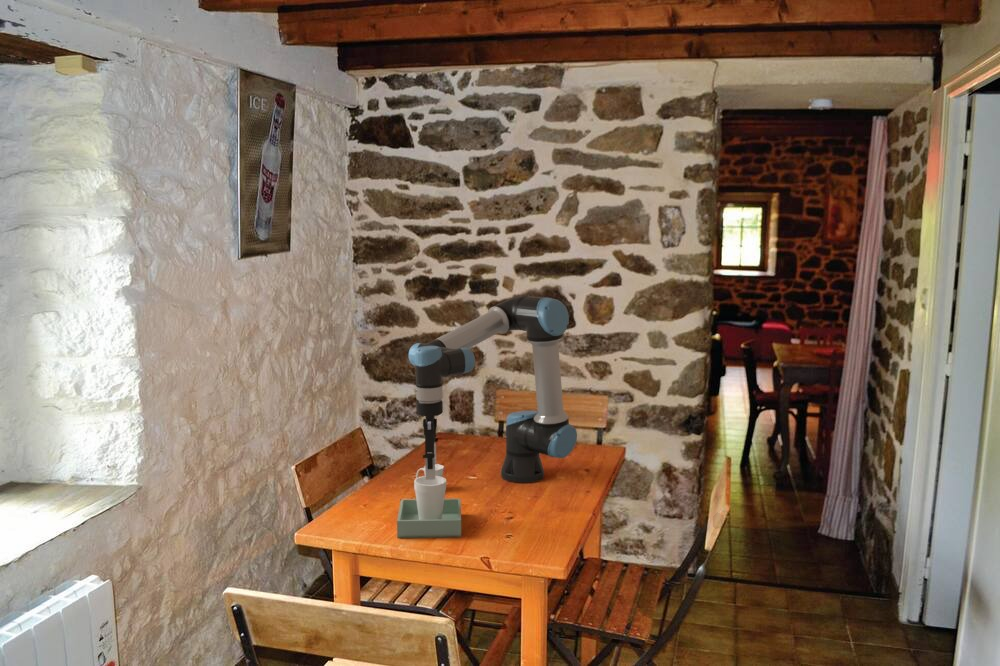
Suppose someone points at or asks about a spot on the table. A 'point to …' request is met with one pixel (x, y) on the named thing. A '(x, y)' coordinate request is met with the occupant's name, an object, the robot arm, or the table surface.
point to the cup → (437, 470)
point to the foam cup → (430, 497)
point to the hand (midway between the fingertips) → (431, 471)
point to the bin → (429, 521)
